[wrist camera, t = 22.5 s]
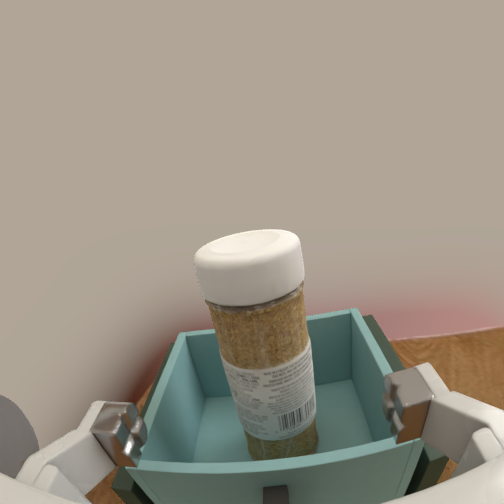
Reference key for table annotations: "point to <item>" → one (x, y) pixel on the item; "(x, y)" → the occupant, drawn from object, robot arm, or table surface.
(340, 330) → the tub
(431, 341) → the table surface
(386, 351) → the dark green bin
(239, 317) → the sprinkles bottle
